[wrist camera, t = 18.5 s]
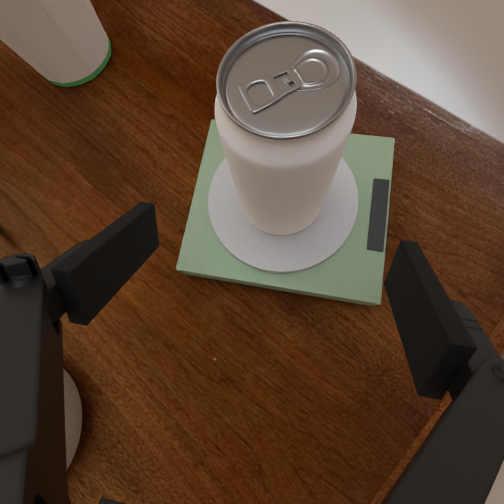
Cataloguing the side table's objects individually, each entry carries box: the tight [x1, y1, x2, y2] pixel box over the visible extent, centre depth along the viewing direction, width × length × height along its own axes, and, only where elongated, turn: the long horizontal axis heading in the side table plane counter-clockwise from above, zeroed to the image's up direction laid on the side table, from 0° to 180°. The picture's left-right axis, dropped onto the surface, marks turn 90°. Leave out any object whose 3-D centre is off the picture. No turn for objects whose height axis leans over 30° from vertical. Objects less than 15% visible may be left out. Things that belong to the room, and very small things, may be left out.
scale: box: [176, 120, 395, 306], centre depth 25 cm, size 16×14×3 cm
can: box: [215, 21, 357, 235], centre depth 18 cm, size 6×6×12 cm
